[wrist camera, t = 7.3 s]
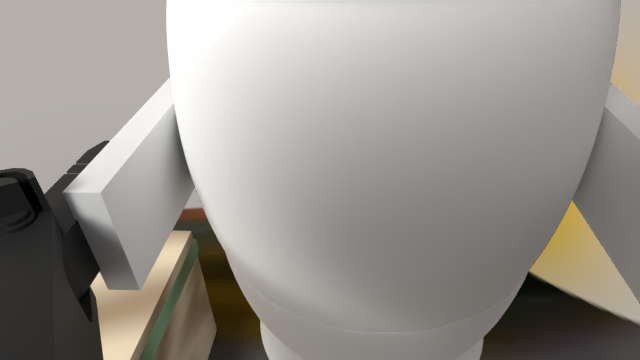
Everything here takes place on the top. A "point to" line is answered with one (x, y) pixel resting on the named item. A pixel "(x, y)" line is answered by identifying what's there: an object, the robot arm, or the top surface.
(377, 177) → the jar
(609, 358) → the top surface
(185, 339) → the step stand
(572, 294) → the top surface
